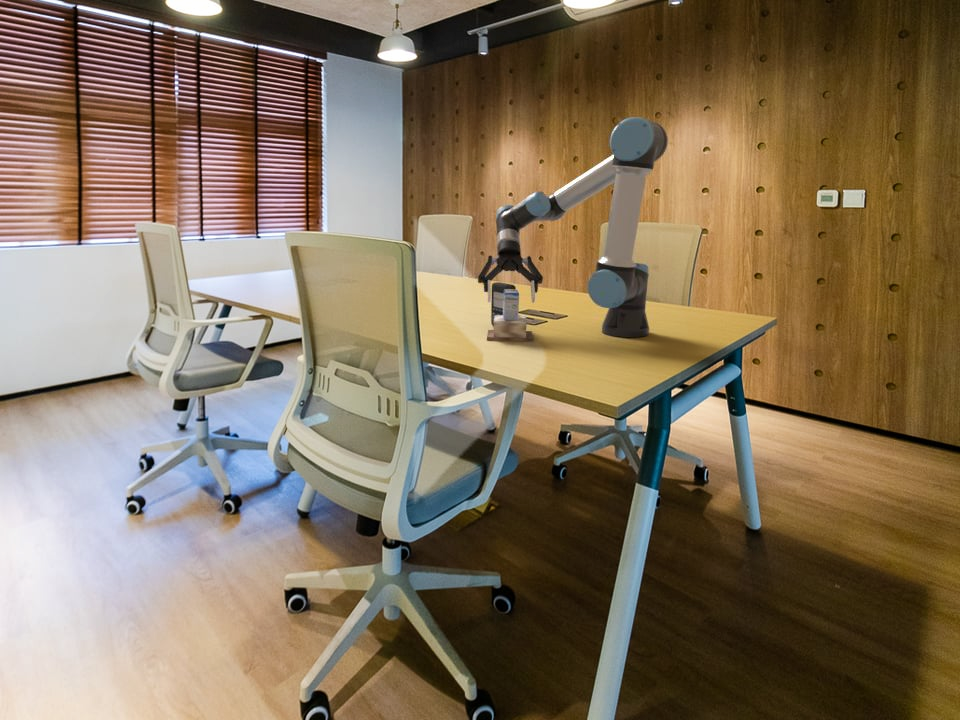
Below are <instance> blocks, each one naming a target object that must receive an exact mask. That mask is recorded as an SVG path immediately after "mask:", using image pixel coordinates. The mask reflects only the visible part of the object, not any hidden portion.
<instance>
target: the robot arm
mask: <svg viewBox="0 0 960 720" xmlns="http://www.w3.org/2000/svg"><path fill="white" fill-rule="evenodd" d="M668 139H669V138H668V134H667V132H666V129H665V128H664V127H663V126H662V125H661V124H660V123H658V122H655V121H651V120H649V119H646V118H645V117H639V116H638V117H637V116H636V117H635V116H632V117H631V116H630V117H627V118H625V119H623V120H621V121H620V122H619V123H618V124H617V125H616V126H615V127H614V128H613V130H612V132H611V134H610V139H609V147H610V148H609V149H610V151H611V153H612V155H610V156H609V157H607V158H605V159H604V160H602V161H601V162H599V163H598V164H596V165H594V166H593V167H592V168H590V169H588V170H587V171H585V172H584V173H582V174H580V175H579V176H578V177H576V178H575V179H573V180H571V181H570V182H569V183H566V184H565V185H564V186H562V187H560V188H559V189H557V190H556V191H555V192H553V193H551V194H550V195H548V196H547V194H545V193H543V192H542V191H540V190H536V191H535V192H533V193H531V194H529V195H528V196H527V197H525V198H524V199H522V200H521V201H520V202H518V203H517V204H516V205H512V204H506V205H502V206H500V207H499V208H498V209H497V211H496V217H495V225H496V226H495V227H496V246H497V248H496V249H497V250H496V251H497V257H493V256H492V255H488V256H487V262H486V263H485V265H484V267H483V268H482V270H481V272H480V273H479V275H478V276H477V277H478V278H477V282H478V283H479V284H483V291H484V293H487V303H491V301H492V287H491V281H492V280H494V279H495V277H497V275H499V274H500V273H501V272H503V271H504V272H515V271H516V272H517V273H518V274H520V275H522V277H523V278H525V279H526V280H527V281H528V282H530V294H531V295H530V296H531V304H534V303H535V301H536V294H537V293H538V291H539V286H538V285H539V284H541V285H542V284H543V280H544V279H543V278H544V277H543V274H542V273H541V272H540V271H539V269H538V268H537V266H536V265H535V264H534V262H533V260H532V257H531V256H530V255H528V256H527V257H526V258H525V257H524V258H523V257H522V253H521V251H522V250H521V249H522V248H521V238H520V237H521V236H520V235H521V234H520V233H521V231H520V230H522V229H525V227H527V226H528V225H530V224H532V223H534V222H539V221H540V222H541V221H549V222H553V221H554V222H555V221H558V220H560V219H562V218H563V217H564V216H565V214H566V212H568V211H569V210H571V209H573V208H575V207H576V206H578V205H579V204H582V203H583V202H584V201H586V200H587V199H590V197H592V196H595V195H596V194H597V193H600V192H601V191H602V190H604V189H606V188H607V187H609V186H610V185H613V184H614V185H613V191H612V197H611V204H610V211H609V217H608V224H607V229H606V236H605V242H604V247H603V253H602V256H601V257H599V258H598V259H597V261H596V266H595V271H594V273H593V274H592V275H591V276H590V278H589V279H588V283H587V291H588V296H589V297H590V300H591V301H592V302H593V303H594V304H595V305H597V306H598V307H600V308H604V309H608V310H607V313H606V314H605V316H604V319H603V322H602V324H601V332H602V334H605V335H608V336H613V337H618V336H619V337H620V338H641V337H640V336H644V337H647V336H649V335H648V334H650V325H649V321H648V317H647V313H646V304H647V303H646V302H647V296H648V295H647V293H648V283H649V281H648V280H649V276H650V274H649V266H648V265H647V264H646V263H640V262H639V263H638V262H635V261H634V260H633V255H634V249H635V243H636V237H637V233H638V232H637V231H638V225H639V220H640V214H641V209H642V203H643V197H644V192H645V187H646V185H645V184H646V179H647V177H648V175H649V174H650V173H652V172H653V170H654V166H655V162H657V161H659V160H660V159H661V158H662V157H663V155H665V154H664V153H666V150H667V149H668V144H669V143H668V142H669V140H668ZM495 263H496V265H495V267H494V268H493V269H492V270H491V267H492V266H493V265H494V264H495ZM524 264H525V266H527V267H525V266H524ZM490 270H491V271H490ZM489 271H490V272H489ZM646 335H647V336H646Z"/></svg>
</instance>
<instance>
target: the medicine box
mask: <svg viewBox="0 0 960 720" xmlns="http://www.w3.org/2000/svg"><path fill="white" fill-rule="evenodd" d="M519 305H520V293H519V291H518V289H516V290H515V289H504V299H503V317H504V320H508V321H518V316H519V310H520V306H519Z"/></svg>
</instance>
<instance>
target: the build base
mask: <svg viewBox="0 0 960 720" xmlns="http://www.w3.org/2000/svg"><path fill="white" fill-rule="evenodd" d="M527 327H528V325H527V316H526V315H518V321H508V320H504V317H503V315H495V317H494V326H493V329H488V330H487V333H486V341H491V340H507V341H506V342H530V341H532V342H531V343H533V341H534V340H533V339H534V338H533V334H532V333H533V331H531V330H527Z"/></svg>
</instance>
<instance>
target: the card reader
mask: <svg viewBox="0 0 960 720" xmlns="http://www.w3.org/2000/svg"><path fill="white" fill-rule="evenodd" d="M504 289H515V290H517V287H516V286H515V285H514V284H511V283H506V282H500V281H499V282H493V283H492V284H491V300H490V303H491V304H490V305H491V312H490V315H491V316H490V318H491V319H490V321H491V322H490V323H491V326H492V327H494V317H495V315H503V299H504Z"/></svg>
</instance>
